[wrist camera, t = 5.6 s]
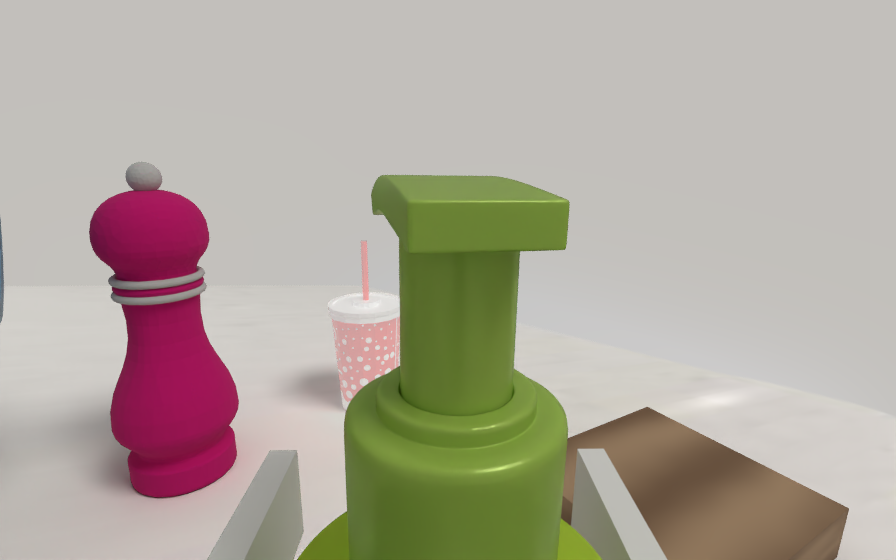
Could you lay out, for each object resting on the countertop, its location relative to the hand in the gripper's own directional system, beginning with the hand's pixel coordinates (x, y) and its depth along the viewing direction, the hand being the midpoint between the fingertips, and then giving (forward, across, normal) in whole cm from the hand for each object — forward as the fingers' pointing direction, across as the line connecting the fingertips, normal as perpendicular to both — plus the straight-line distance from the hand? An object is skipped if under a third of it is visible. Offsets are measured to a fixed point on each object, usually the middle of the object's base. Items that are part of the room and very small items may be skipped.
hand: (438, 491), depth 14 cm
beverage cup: (+25, -6, -11) cm, 28 cm away
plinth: (+11, +13, -11) cm, 20 cm away
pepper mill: (+17, -17, -11) cm, 26 cm away
